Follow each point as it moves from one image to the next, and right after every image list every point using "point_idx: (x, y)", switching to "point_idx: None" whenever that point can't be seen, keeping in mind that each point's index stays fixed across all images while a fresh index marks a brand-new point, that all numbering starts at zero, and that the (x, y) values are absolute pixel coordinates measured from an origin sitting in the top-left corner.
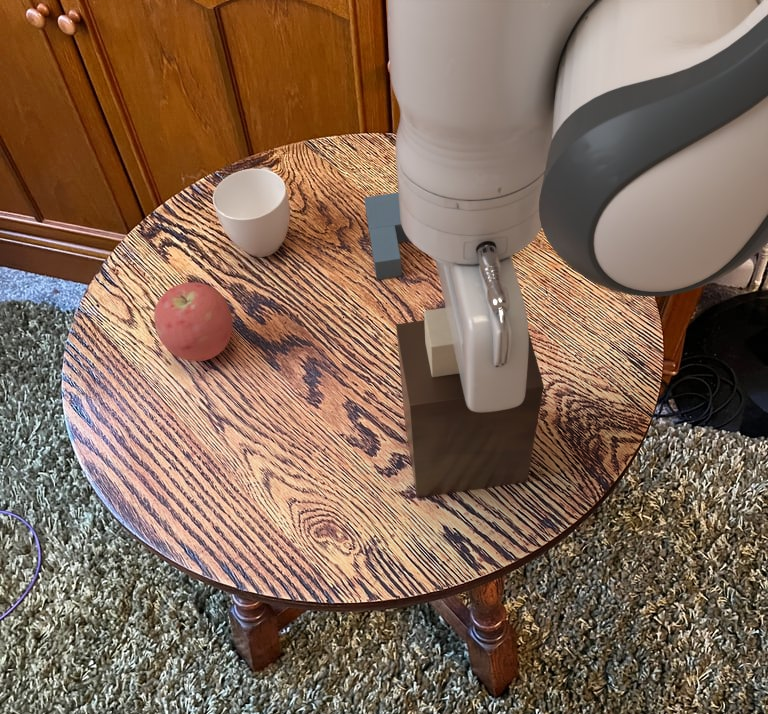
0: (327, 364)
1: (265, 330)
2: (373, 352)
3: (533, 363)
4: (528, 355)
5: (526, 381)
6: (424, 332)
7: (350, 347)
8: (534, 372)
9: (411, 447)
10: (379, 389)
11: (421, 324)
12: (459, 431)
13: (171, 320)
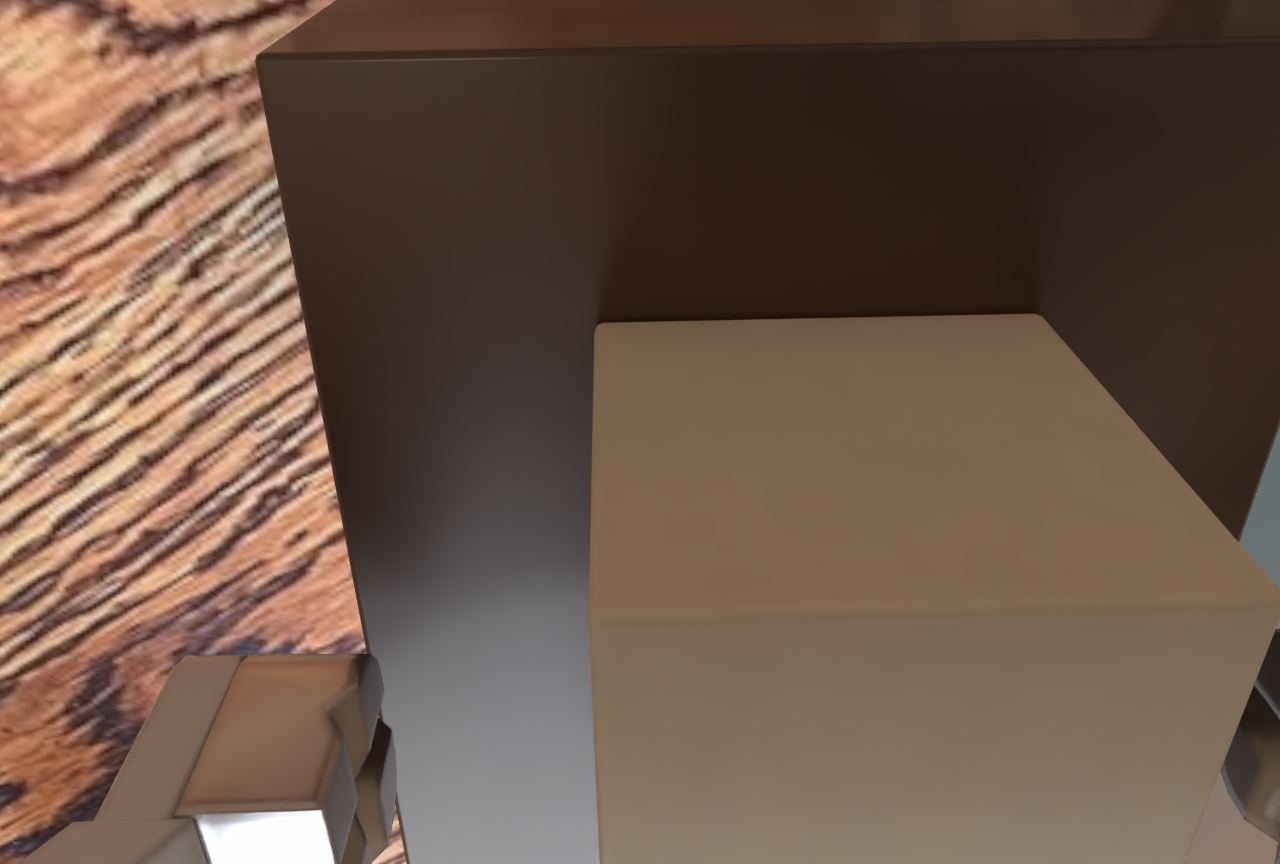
0: (201, 618)
1: (52, 783)
2: (128, 466)
3: (1093, 89)
4: (972, 120)
5: (1271, 201)
6: (522, 833)
7: (108, 542)
8: (1208, 102)
9: None
10: (325, 459)
11: (443, 843)
12: None
13: None
